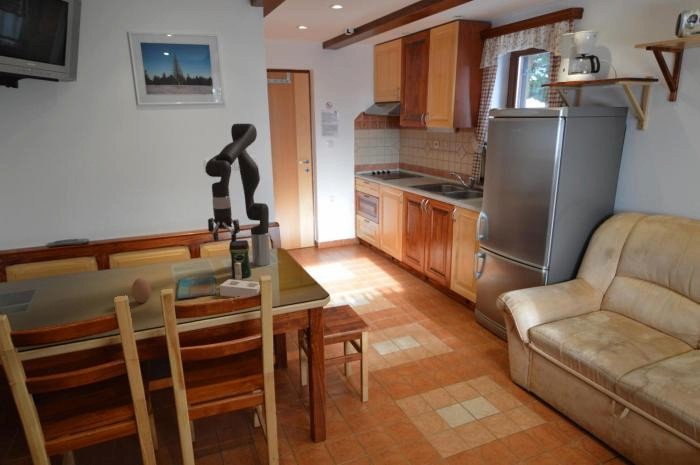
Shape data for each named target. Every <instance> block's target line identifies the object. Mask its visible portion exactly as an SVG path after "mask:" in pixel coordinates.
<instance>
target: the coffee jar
mask: <svg viewBox="0 0 700 465" xmlns="http://www.w3.org/2000/svg"><path fill="white" fill-rule="evenodd" d="M228 250H229V253H230V258H231V264H230V265H231V268H230V269H231V270H230V271H231V272H230V274H231V275H230V276H231V278H233V279H235V268H234V263H241V274H242V279H246V278H249V277H251V275H252V270H251V265H250V264H251V263H250V257H249V251H250V246H249V241H248V239H246V240H245V239H243V240H241V239H240V240H236V241H235V242H234V243H232V240H231V241H230V242H229V248H228Z"/></svg>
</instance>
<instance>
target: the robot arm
mask: <svg viewBox="0 0 700 465" xmlns="http://www.w3.org/2000/svg"><path fill="white" fill-rule="evenodd" d="M230 131H231V132H230V134H231V138H232V142H230V143H228V144H226V146H224V147H223V149H222V150H221V151H220V153H219V154H218V153H217V154H216V155H214V156H213V157H211V158H210V159H209V160H208V161H207V162H206V165H205V168H204V169H205V173H206V175H207V176H208V177H211V178H220V180H219V181H217V182H216V181H215V182H213V183H212V184H211V193H212V195H211V196H212V210H213V217H210V218H208V219H207V226H208V232H209V233H212V237H213V240H214V242H219V232H218V231H219V230H222V229H223V230H227V231H228V232H229V233H230V234H231V236H230V238H231V241H232V243H234V242H235V241H237V234H238V233H240V232H241V231H240V230H241V229H240V221H239V219H238V218H237V219H232V216H233V215H232V205H231V204H232V203H231V198H230V189H229V188H230V187H229V185H230V181H231V174H232V165H234V164H233V163H235V161H236V160H237V162H238V163H237V164H238V168H239V174H240V180H241V184H242V189H243V194H244V195H243V196H244V202H245V203H244V205H245V211H246V212H245V214H246V216H247V219H248V220H249V221H256V222H257V221H259V224H257V225H254V226H253V227H252V226H251V228H250V238H251V241H250V242H251V255H252V258H251V259H252V264H253V265H254V266H256V267H257V266H258V267H263V266H264V267H265V266H267V265H270V263H271V254H270V253H271V252H270V237H269V236H270V235H269V234H270V233H269V227H270V222H269V221H270V220H269V219H270V218H269V217H270V213H269V212H270V211H269V206H268V205H267V204H268V203H267V204H266V203H265V202H264V203H263V202H262V203H261V202H260V203H259V202H255V200H254V199H255V198H254V196H255V192H256V190H257V188H258V186H259V183H260V180H261V175H260V171H259V167H258V164H257V163H256V162H255V160H254V159H253V158H252V157H251V155H250V154H249V153H248V152H247V148H249V147H250V146H251V145H252V144H253V143H254V142H255V141H256V139H257V135H258V131H257V128H256V126H255V125H254V124H253V123H233V124H232V125H231V130H230ZM214 224H215V226H214Z"/></svg>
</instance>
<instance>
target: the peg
mask: <svg viewBox="0 0 700 465" xmlns="http://www.w3.org/2000/svg"><path fill="white" fill-rule="evenodd" d="M234 268H235V278H234V279H235V280H241V281H242V280H243V278H242V274H241V263H234Z"/></svg>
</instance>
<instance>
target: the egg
mask: <svg viewBox="0 0 700 465" xmlns="http://www.w3.org/2000/svg"><path fill="white" fill-rule="evenodd" d="M131 296H132V298H133V299H134V301H136V302H138V303H140V304H141V303H146V302H147V301H149V300H150V298H151V296H152V288H151V285H150V284H149V282H148V281H147V280H146V279H144V277H143V278H141V277H138V278H137V279H135V280H134V281H133V283H132V286H131Z"/></svg>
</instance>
